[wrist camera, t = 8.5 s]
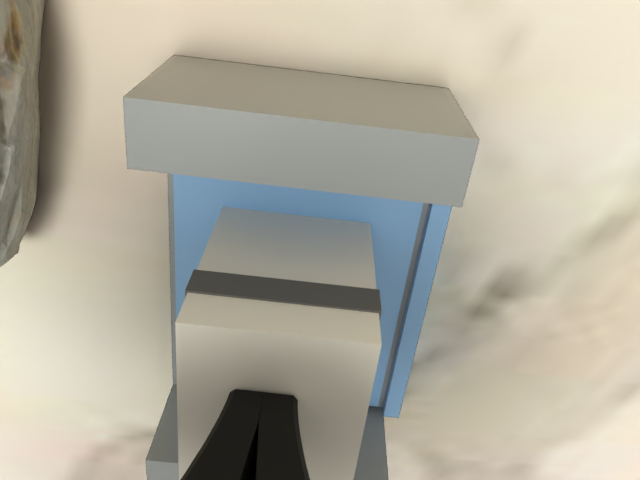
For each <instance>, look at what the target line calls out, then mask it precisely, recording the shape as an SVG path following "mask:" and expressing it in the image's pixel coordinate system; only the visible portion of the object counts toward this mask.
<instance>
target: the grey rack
mask: <svg viewBox="0 0 640 480" xmlns="http://www.w3.org/2000/svg"><path fill="white" fill-rule="evenodd" d="M123 107H124V123H125V139H126V154H127V169H135V170H143V171H152V172H161V173H168V205H169V246H170V286H171V326H172V367H173V386H172V389H171V392H170V394H169V397H168V400H167V403H166V405H165V408H164V411H163V414H162V416H161V419H160V422H159V425H158V427H157V430H156V433H155V436H154V439H153V441H152V444H151V447H150V450H149V452H148V455H147V458H146V473H147V480H179V465H178V421H177V378H176V334H175V322H176V319H177V317H178V315H179V312H180V310H181V307H182V305H183V302H184V300H185V289H186V287H187V284H188V282H189V280H190V277H191V275H192V272H193V270H194V269H195V270H197V268H198V266H199V263H200V261H201V258H202V256H203V253H204V251H205V248H206V246H207V244H208V241H209V239H210V236H211V234H212V231H213V229H214V226H215V224H216V222H217V219H218V217H219V214H220V212H221V209H222V207H231V208H240V209H248V210H257V211H266V212H275V213H284V214H293V215H302V216H311V217H320V218H328V219H337V220H346V221H355V222H364V223H371V234H372V245H373V255H374V266H375V277H376V288H377V289H378V290H380V300H381V310H382V312H381V317H380V331H381V342H382V346H381V351H380V355H379V360H378V365H377V370H376V374H375V379H374V384H373V389H372V393H371V398H370V403H369V408H368V412H367V417H366V422H365V427H364V431H363V436H362V441H361V446H360V451H359V455H358V460H357V465H356V470H355V474H354V479H353V480H388V468H387V456H386V443H385V431H384V419H383V416H385V417H395V418H399V414H400V410H401V406H402V402H403V398H404V394H405V390H406V386H407V382H408V378H409V374H410V370H411V366H412V362H413V358H414V354H415V350H416V346H417V342H418V338H419V334H420V330H421V326H422V323H423V319H424V315H425V311H426V307H427V303H428V299H429V295H430V291H431V287H432V283H433V279H434V275H435V271H436V267H437V263H438V259H439V255H440V251H441V247H442V243H443V239H444V235H445V231H446V227H447V223H448V219H449V216H450V212H451V208H452V206H455V207H462V205H463V201H464V197H465V193H466V189H467V186H468V182H469V178H470V174H471V170H472V166H473V163H474V159H475V155H476V151H477V147H478V144H479V140H480V139H479V138H478V136H477V134H476V133H475V131H474V129H473V128H472V126H471V124H470V123H469V121H468V120H467V118H466V116H465V115H464V113H463V111H462V110H461V108H460V106H459V105H458V103H457V101H456V100H455V98H454V96H453V95H452V93H451V92H450V90H449V88H442V87H434V86H425V85H417V84H409V83H400V82H392V81H384V80H376V79H367V78H359V77H351V76H342V75H334V74H326V73H318V72H309V71H301V70H293V69H284V68H276V67H268V66H260V65H251V64H243V63H235V62H226V61H218V60H210V59H202V58H193V57H185V56H177V55H173V56H172V57H171V58H170V59H168V60H167V61H166V62H165V63H163V64H162V65H161V66H160V67H159V68H157V69H156V70H155V71H154V72H153V73H151V74H150V75H149V76H148V77H147V78H145V79H144V80H143V81H142V82H141V83H139V84H138V85H137V86H136V87H134V88H133V89H132V90H131V91H130V92H128V93H127V94H126V95H125V96H124V97H123Z"/></svg>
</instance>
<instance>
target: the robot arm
mask: <svg viewBox="0 0 640 480" xmlns="http://www.w3.org/2000/svg"><path fill="white" fill-rule="evenodd" d="M180 480H310V478H309V474H308V470H307V466H306V461H305V457H304V452H303V447H302V441H301V435H300V428H299V420H298V400H297V399H296V397H295V396H294V395H286V394H277V393H268V392H259V391H249V390H240V389H235V390H233V391H231V392H230V393H229V396H228V398H227V401H226V403H225V405H224V407H223V409H222V411H221V413H220V415H219V417H218V419H217V421H216V423H215V425H214V427H213V428H212V430H211V432H210V434H209V435H208V437H207V439H206V441H205V442H204V444H203V445H202V447H201V449H200V450H199V452H198V453H197V455H196V457H195V458H194V460H193V461H192V463H191V464H190V466H189V468H188V469H187V471H186V472H185V474H184V475H183V477H182V478H181V479H180Z"/></svg>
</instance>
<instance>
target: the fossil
mask: <svg viewBox="0 0 640 480" xmlns="http://www.w3.org/2000/svg"><path fill="white" fill-rule="evenodd" d="M44 6H45V0H0V267H1V266H2V265H4V264H5V263H6V262H7V261H9V260H10V259H11V258H12V257H13V256H14V255H15V254H17V253H18V251H19V245H20V242H21V240H22V238H23V236H24V234H25V231H26V228H27V226H28V223H29V221H30V218H31V215H32V212H33V209H34V206H35V201H36V196H37V175H38V168H39V144H40V109H39V65H40V56H41V30H42V21H43V13H44Z"/></svg>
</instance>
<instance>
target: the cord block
mask: <svg viewBox="0 0 640 480" xmlns="http://www.w3.org/2000/svg"><path fill="white" fill-rule="evenodd" d="M381 312H382V310H381V300H380V290H378V289H377V288H376V277H375V266H374V255H373V245H372V234H371V223H364V222H355V221H346V220H337V219H328V218H320V217H311V216H302V215H293V214H284V213H275V212H266V211H257V210H248V209H240V208H231V207H222V209H221V212H220V214H219V217H218V219H217V222H216V224H215V226H214V229H213V231H212V234H211V236H210V239H209V241H208V244H207V246H206V248H205V251H204V253H203V256H202V258H201V261H200V263H199V266H198V268H197V270H195V269H194V270H193V272H192V275H191V277H190V280H189V282H188V284H187V287H186V289H185V300H184V302H183V305H182V307H181V310H180V312H179V315H178V317H177V319H176V322H175V334H176V378H177V421H178V465H179V480H180V479H181V478H182V477H183V475H184V474H185V472H186V471H187V469H188V468H189V466H190V464H191V463H192V461H193V460H194V458H195V457H196V455H197V453H198V452H199V450H200V449H201V447H202V445H203V444H204V442H205V441H206V439H207V437H208V435H209V434H210V432H211V430H212V428H213V427H214V425H215V423H216V421H217V419H218V417H219V415H220V413H221V411H222V409H223V407H224V405H225V403H226V401H227V398H228V396H229V393H230V392H231V391H233V390H235V389H240V390H249V391H259V392H268V393H277V394H286V395H294V396H295V397H296V399H297V400H298V420H299V428H300V435H301V441H302V447H303V452H304V457H305V461H306V466H307V470H308V474H309V478H310V480H353V479H354V474H355V470H356V465H357V460H358V455H359V451H360V446H361V441H362V436H363V431H364V427H365V422H366V417H367V412H368V408H369V403H370V398H371V393H372V389H373V384H374V379H375V374H376V370H377V365H378V360H379V355H380V351H381V346H382V342H381V331H380V317H381Z"/></svg>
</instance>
